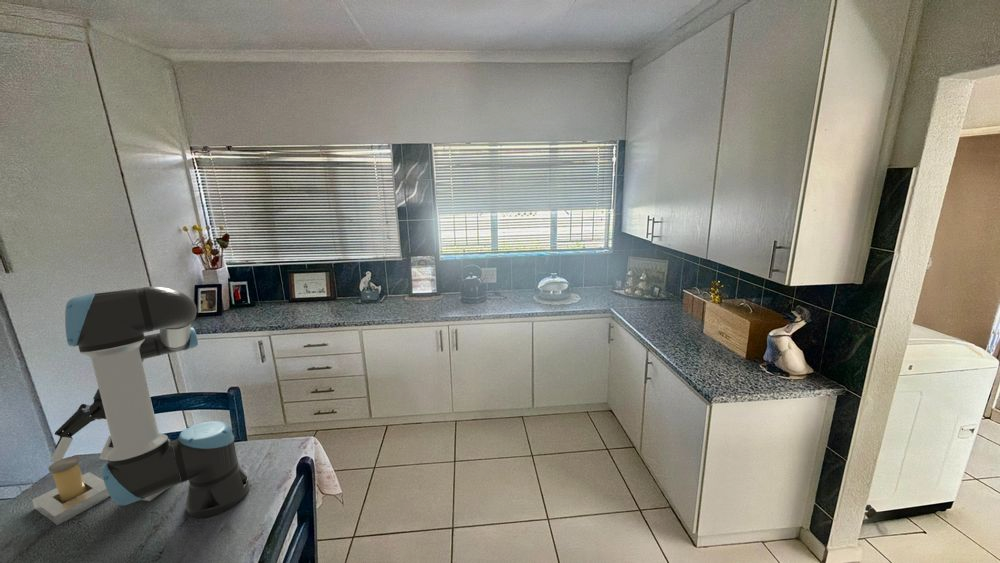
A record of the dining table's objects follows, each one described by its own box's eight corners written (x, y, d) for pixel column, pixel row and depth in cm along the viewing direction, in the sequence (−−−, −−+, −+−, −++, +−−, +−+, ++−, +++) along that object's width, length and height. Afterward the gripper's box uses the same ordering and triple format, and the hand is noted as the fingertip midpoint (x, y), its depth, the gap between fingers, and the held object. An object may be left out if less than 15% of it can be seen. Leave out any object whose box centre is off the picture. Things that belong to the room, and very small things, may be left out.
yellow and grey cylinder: (94, 497, 113) (82, 459, 110) (66, 511, 108) (53, 472, 105) (84, 491, 115) (73, 454, 112) (57, 505, 110) (44, 466, 107)
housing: (114, 494, 114) (112, 485, 114) (57, 525, 104) (54, 516, 103) (91, 480, 120) (89, 472, 119) (34, 508, 109) (31, 499, 108)
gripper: (162, 391, 129) (133, 460, 118) (84, 393, 127) (47, 463, 116) (145, 385, 122) (113, 457, 111) (63, 386, 121) (22, 460, 110)
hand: (79, 460), depth 114 cm, fingers open, 13 cm apart
